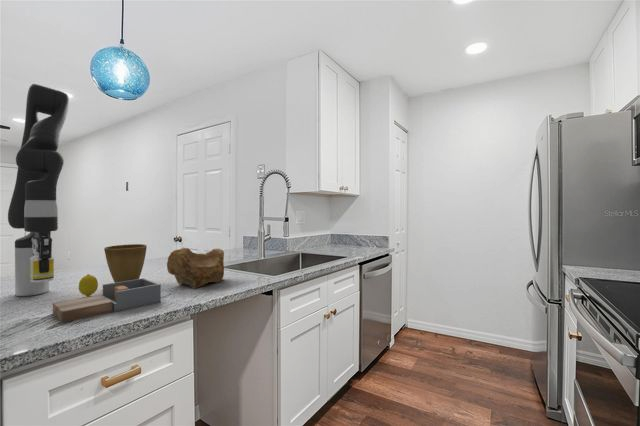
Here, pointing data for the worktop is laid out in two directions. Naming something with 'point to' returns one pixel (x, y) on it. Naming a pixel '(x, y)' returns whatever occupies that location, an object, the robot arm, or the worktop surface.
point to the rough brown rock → (196, 267)
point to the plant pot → (125, 261)
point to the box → (133, 294)
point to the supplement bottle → (34, 269)
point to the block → (119, 288)
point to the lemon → (88, 285)
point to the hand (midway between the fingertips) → (42, 271)
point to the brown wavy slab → (82, 308)
